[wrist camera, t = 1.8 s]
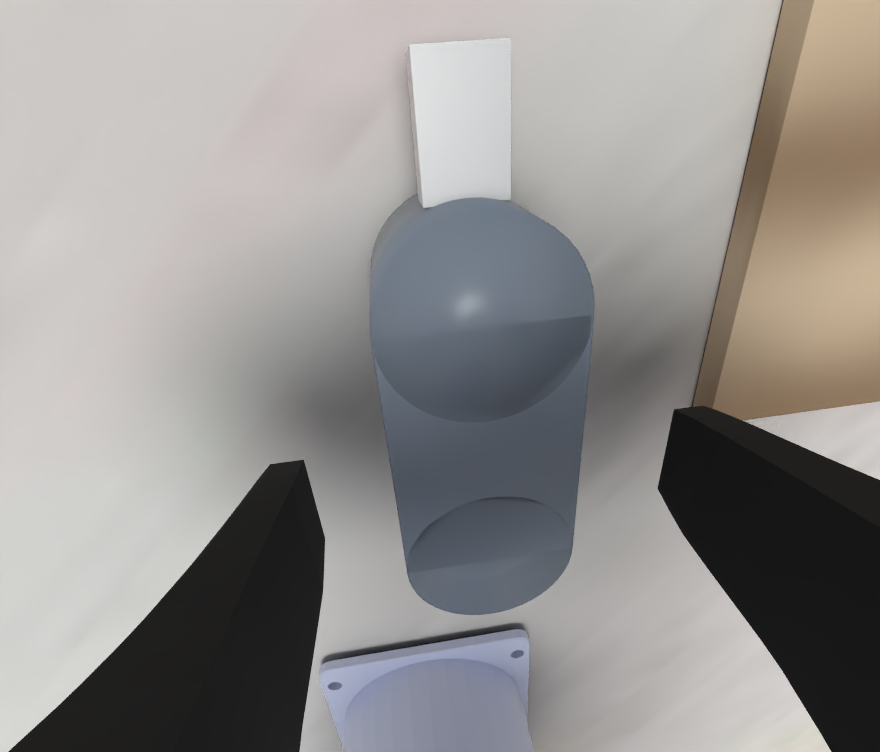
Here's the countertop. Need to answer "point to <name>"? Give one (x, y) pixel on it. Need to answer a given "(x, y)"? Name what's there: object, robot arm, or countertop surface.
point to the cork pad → (805, 227)
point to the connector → (478, 348)
